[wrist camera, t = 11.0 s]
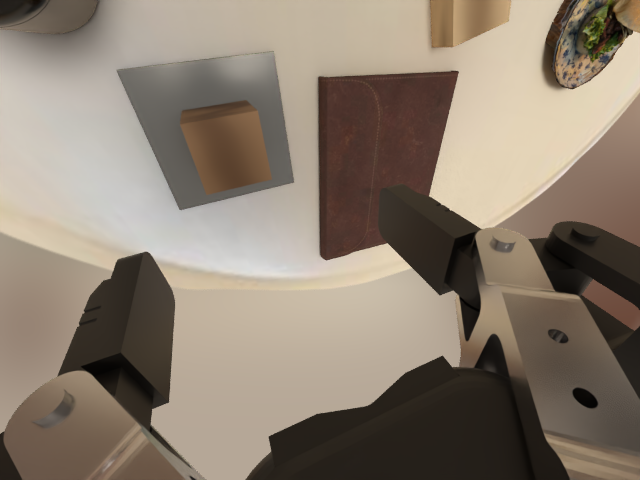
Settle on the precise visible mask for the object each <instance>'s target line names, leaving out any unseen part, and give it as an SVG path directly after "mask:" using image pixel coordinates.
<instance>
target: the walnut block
mask: <svg viewBox="0 0 640 480" xmlns="http://www.w3.org/2000/svg"><path fill="white" fill-rule="evenodd" d="M180 126H181V128H182V131H183V134H184V136H185V139H186V142H187V144H188V147H189V150H190V152H191V155H192V158H193V160H194V163H195V166H196V168H197V171H198V174H199V176H200V179H201V182H202V184H203V187H204V190H205V192H206V195H209V194H213V193H218V192H222V191H226V190H230V189H234V188H238V187H243V186H247V185H251V184H255V183H259V182H264V181H268V180H272V177H271V172H270V167H269V162H268V158H267V153H266V148H265V143H264V138H263V133H262V129H261V124H260V119H259V114H258V110H256V109H255V108H254V107H253V106H252V105H251V104H250V103H249V102H248V101H247V100H244V101H237V102H231V103H225V104H219V105H213V106H207V107H200V108H194V109H188V110H182V112H181V120H180Z"/></svg>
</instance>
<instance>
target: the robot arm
mask: <svg viewBox="0 0 640 480" xmlns="http://www.w3.org/2000/svg"><path fill="white" fill-rule="evenodd" d="M378 228H379V232H380V234H381V236H382V238H383V239H384V240H385V241H386V242H387V243H388V244H389V245H390V246H391V247H392V248H393V249H394V250H395V251H396V252H397V253H398V254H399V255H400V256H401V257H402V258H403V259H404V260H405V261H406V262H407V263H408V264H409V265H410V266H411V267H412V268H413V269H414V270H415V271H416V272H417V273H418V274H419V275H420V276H421V277H422V278H423V279H424V280H425V281H426V282H427V283H428V284H429V285H430V286H431V287H432V288H433V289H434V290H435V291H436V292H437V293H438V294H439V295H442V294H445V293H447V292H450V291H452V290H454V291H455V292H456V293H457V295H456V299H455V304H456V312H457V320H458V329H459V337H460V345H461V357H460V364H459V367H451V365H450V364H449V363H448V362H447V360H446V359H445V358H444V357H443V356H441V357H439V358H437V359H435V360H432V361H430V362H428V363H426V364H424V365H422V366H419V367H417V368H415V369H413V370H411V371H409V372H407V373H405V374H404V375H403V376H401V377H400V378H399V380H397V381H396V382H395V383H394V384H393V385H392V386H391V387H390V388H388V389H387V390H386V391H385V392H384V393H383V394H382V395H381V396H380V397H379V398H378V399H377V400H375V401H374V402H373V403H372V404H371V405H368V406H365V407H360V408H353V409H347V410H340V411H334V412H328V413H321V414H316V415H314V416H312V417H310V418H307V419H305V420H303V421H301V422H299V423H297V424H295V425H292V426H290V427H288V428H286V429H284V430H282V431H280V432H277V433H275V434H273V435H271V436H269V441H270V446H271V452H270V453H269V454H268V455H267V456H266V457H265V458H264V459H263V460H262V461H261V462H260V463H259V464H258V465H257V466H256V467H255V468H254V469H253V470H252V472H251V473H250V474H249V476H248V477H247V479H246V480H640V327H639V328H638V329H637V330H635V331H634V330H632V329H630V328H629V327H627V326H626V325H624V324H623V323H622V322H620V321H619V320H617V319H616V318H614V317H613V316H611V315H610V314H608V313H607V312H606V311H604V310H603V309H601V308H600V307H598V306H597V305H595V304H594V303H592V302H591V301H589V300H588V299H587V298H585V297H584V296H582V293H583V292H584V290H585V289H586V288H587V286H588V285H589V284H590V282H591V281H592V280H593V279H594V280H596V281H597V282H599V283H600V284H602V285H604V286H605V287H607V288H609V289H610V290H612V291H614V292H615V293H617V294H618V295H620V296H622V297H623V298H625V299H626V300H628V301H629V302H631V303H633V304H634V305H635V306H637V307H638V308H639V310H640V247H638V246H636V245H634V244H632V243H630V242H628V241H626V240H624V239H622V238H619V237H617V236H615V235H613V234H611V233H609V232H607V231H605V230H603V229H600V228H598V227H595V226H593V225H589V224H585V223H581V222H572V221H571V222H570V221H569V222H568V221H567V222H560V223H557V224H555V226H554V227H553V228H552V230H551V232H550V234H549V236H548V238H538V239H527V238H526V237H524V236H523V235H521V234H519V233H517V232H514V231H512V230H508V229H504V228H494V227H493V228H485V229H480V228H479V227H477V226H476V225H474V224H472V223H471V222H469V221H468V220H466V219H464V218H463V217H461V216H460V215H458V214H457V213H455V212H453V211H452V210H451V211H450V210H449V208H447V207H445V206H444V205H441V203H439V202H438V201H436V200H434V199H433V198H431V197H429V196H426V195H423V194H420V193H417V192H415V191H413V190H412V189H410V188H409V187H407V186H406V185H404V184H397V185H393V186H389V187H386V188H382V189H381V191H380V194H379V212H378ZM84 312H85V313H84V314H82V317H81V319H80V322H79V325H80V326H79V327H77V329H76V332H75V334H74V337H73V339H72V342H71V344H70V347H69V349H68V352H67V354H66V356H65V359H64V361H63V364H62V366H61V369H60V371H59V374H58V376H57V377H56V378H54V379H52V380H50V381H49V382H47V383H45V384H44V385H42V386H41V387H40V388H38V389H37V390H36V391H35V392H33V393H32V394H31V395H30V396H29V397H28V398H27V399H26V400H25V401H24V402H23V403H22V404H21V405H20V406H19V407H18V408H17V410H16V411H15V412H14V414H13V415H12V417H11V419H10V420H9V422H8V424H7V426H6V429H5V431H4V432H2V433H1V434H0V480H206V479H205V478H204V477H202V475H200V474H199V473H198V472H197V471H196V470H195V469H194V468H193V467H192V466H191V465H190V464H189V462H187V460H186V459H184V457H182V455H181V454H180V453H179V452H178V451H177V450H176V449H175V448H174V447H173V446H172V445H171V444H170V443H169V442H168V441H167V440H166V439H165V438H164V437H163V436H162V435H161V434H160V433H159V432H158V431H157V430H156V429H155V428H154V427H153V426H152V425H151V415H152V409H154V408H156V407H159V406H161V405H163V404H166V403H169V392H170V377H171V361H172V344H173V328H174V312H175V300H174V295H173V292H172V289H171V287H170V285H169V284H168V282H167V280H166V279H165V277H164V275H163V274H162V272H161V270H160V269H159V267H158V265H157V264H156V262H155V260H154V259H153V257H152V256H151V254H150V253H148V252H143V253H139V254H136V255H132V256H128V257H125V258H121V259H118V260H117V262H116V265H115V268H114V271H113V273H112V276H111V279H108V280H105V281H103V282H102V283H101V284H100V285H99V286H98V287H97V289H96V290H95V291H94V292H93V293H92V294H91V295H90V297H89V300H88V302H87V305H86V307H85V309H84Z"/></svg>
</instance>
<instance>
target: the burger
mask: <svg viewBox="0 0 640 480" xmlns="http://www.w3.org/2000/svg"><path fill="white" fill-rule="evenodd" d="M557 13H559V14H557V15H556V17H555V18H554V21H555V22H554V23H553V22H552V27H551V30H550V31H549V33H548V35H547V38H546V43H547V44H548V45H550V46H551V47H552V48H554V55H553V64H552V69H553V71H554V73H555V75H556V80H557V82H558V83H559V84H560V85H561V86H562V87H565V88H568V89H575V88H577V87H579V86H580V85H582V84H584V83H586V82H588V81H590V80H591V79H592V78H593V77H595V76H596V75H598V74H599V73H600V72H601V71H602V70H603V69H604V68H605V67H606V66H607V65H608V63H609V62H610V61H611V60H612V59H613V57H614V55H615V53H616V51H617V49H618V48H620V47H621V45H622V44H623V42H624V40H625V39H626V38H627V37H628V36H629V35H632V34H633V31H635V32H638V33H640V0H564V2H563V3H562V5H561V7H560V8H559V11H558V12H557Z"/></svg>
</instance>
